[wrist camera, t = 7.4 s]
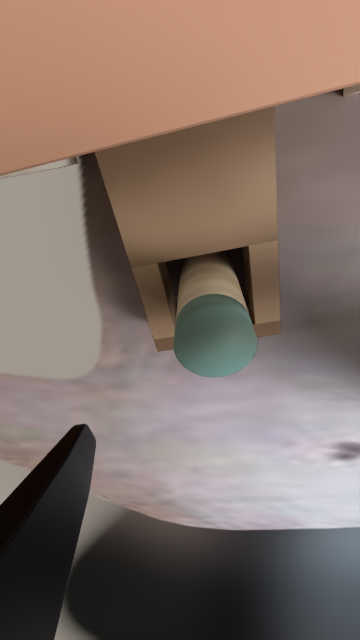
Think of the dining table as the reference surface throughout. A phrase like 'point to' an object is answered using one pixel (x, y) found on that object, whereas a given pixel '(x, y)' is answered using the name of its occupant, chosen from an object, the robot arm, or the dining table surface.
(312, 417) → the dining table surface
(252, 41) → the footed pink board
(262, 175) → the socket block
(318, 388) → the dining table surface
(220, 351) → the peg
